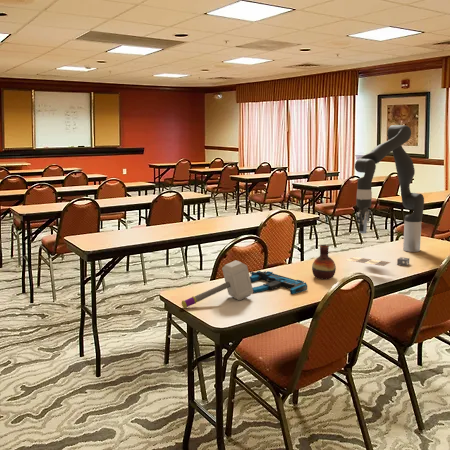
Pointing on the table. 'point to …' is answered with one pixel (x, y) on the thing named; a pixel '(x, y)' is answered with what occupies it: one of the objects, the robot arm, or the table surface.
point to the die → (403, 261)
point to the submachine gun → (277, 282)
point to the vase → (323, 265)
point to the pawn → (364, 226)
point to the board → (363, 260)
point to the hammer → (228, 284)
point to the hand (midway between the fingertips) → (362, 230)
